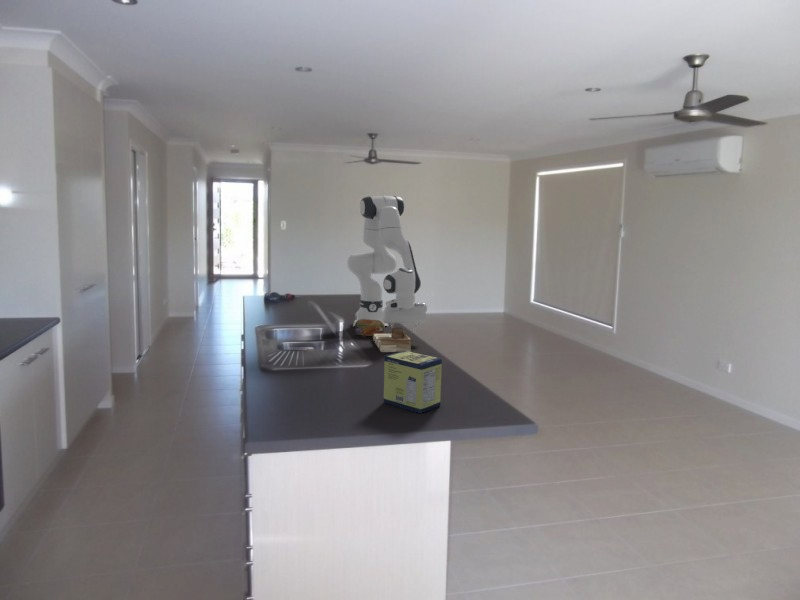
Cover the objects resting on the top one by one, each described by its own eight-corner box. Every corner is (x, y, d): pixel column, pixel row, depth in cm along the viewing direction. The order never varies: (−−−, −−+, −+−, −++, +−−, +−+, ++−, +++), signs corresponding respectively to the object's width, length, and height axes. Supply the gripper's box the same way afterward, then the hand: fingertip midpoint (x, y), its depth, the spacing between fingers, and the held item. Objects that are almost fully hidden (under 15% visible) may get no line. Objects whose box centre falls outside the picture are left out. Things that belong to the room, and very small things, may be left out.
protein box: (402, 395, 195) (404, 349, 192) (441, 406, 185) (443, 358, 183) (382, 402, 187) (383, 355, 184) (421, 414, 177) (422, 364, 175)
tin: (354, 335, 287) (354, 318, 285) (356, 334, 290) (356, 317, 288) (383, 338, 282) (383, 321, 281) (385, 337, 285) (385, 320, 284)
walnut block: (391, 336, 271) (391, 327, 270) (400, 336, 272) (400, 327, 272) (393, 338, 267) (394, 329, 266) (403, 338, 268) (403, 329, 267)
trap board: (373, 340, 277) (373, 328, 276) (400, 339, 280) (400, 328, 279) (381, 352, 254) (381, 339, 253) (410, 351, 256) (411, 339, 256)
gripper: (425, 302, 276) (424, 331, 278) (382, 302, 272) (381, 331, 274) (428, 304, 270) (427, 333, 272) (384, 304, 266) (384, 334, 268)
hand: (404, 332), depth 273 cm, fingers open, 8 cm apart
